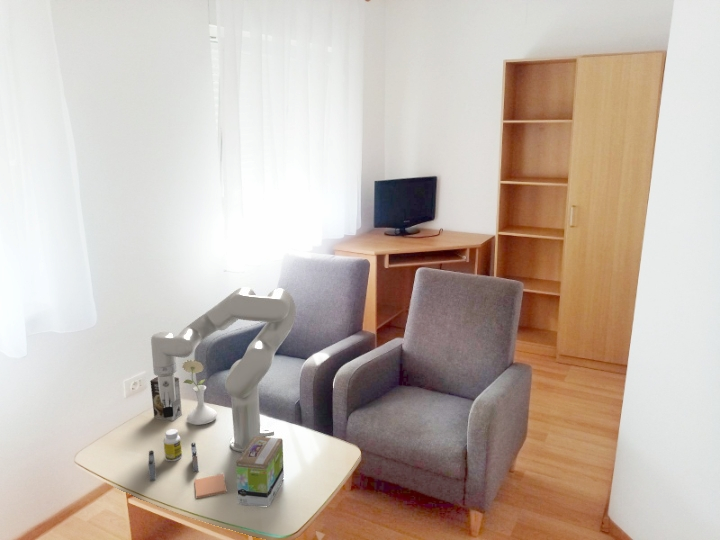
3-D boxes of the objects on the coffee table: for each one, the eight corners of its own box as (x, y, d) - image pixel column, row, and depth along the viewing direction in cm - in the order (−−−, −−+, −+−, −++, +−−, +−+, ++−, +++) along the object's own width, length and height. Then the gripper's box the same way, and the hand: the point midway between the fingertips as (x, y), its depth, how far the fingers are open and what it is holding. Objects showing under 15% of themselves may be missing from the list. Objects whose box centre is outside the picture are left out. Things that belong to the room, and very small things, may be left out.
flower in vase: (223, 416, 218) (218, 357, 212) (205, 429, 207) (200, 368, 202) (196, 410, 222) (190, 353, 216) (177, 424, 212) (171, 364, 206)
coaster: (223, 476, 178) (223, 473, 178) (226, 492, 170) (226, 489, 170) (194, 482, 175) (194, 479, 175) (196, 498, 167) (196, 496, 167)
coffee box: (153, 418, 217) (149, 380, 213) (164, 410, 223) (160, 374, 219) (172, 421, 214) (168, 383, 210) (182, 414, 220) (179, 377, 216)
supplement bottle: (177, 462, 186) (174, 436, 184) (162, 460, 187) (159, 435, 185) (185, 453, 191) (182, 428, 189) (171, 452, 192) (168, 427, 190)
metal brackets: (197, 458, 188) (195, 441, 186) (198, 471, 181) (196, 453, 179) (150, 468, 183) (148, 450, 182) (150, 481, 176) (148, 463, 174)
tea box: (269, 508, 162) (266, 464, 158) (237, 505, 164) (234, 461, 160) (285, 478, 176) (282, 437, 173) (255, 475, 178) (252, 434, 175)
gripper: (176, 374, 184) (180, 424, 188) (175, 358, 197) (179, 405, 201) (153, 377, 181) (157, 428, 185) (153, 361, 195) (157, 408, 199)
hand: (168, 416), depth 193 cm, fingers closed
